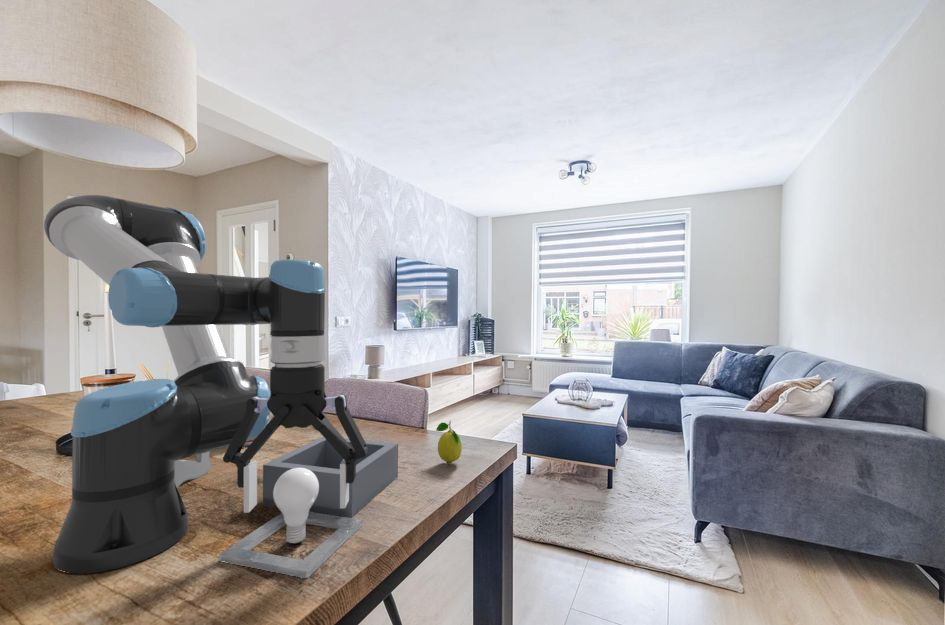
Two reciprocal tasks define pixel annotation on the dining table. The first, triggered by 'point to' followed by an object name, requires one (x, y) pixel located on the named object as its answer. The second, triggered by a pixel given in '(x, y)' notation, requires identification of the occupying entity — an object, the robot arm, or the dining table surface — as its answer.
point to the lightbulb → (296, 500)
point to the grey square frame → (285, 565)
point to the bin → (336, 474)
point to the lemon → (449, 444)
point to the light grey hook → (192, 468)
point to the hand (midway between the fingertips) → (298, 506)
